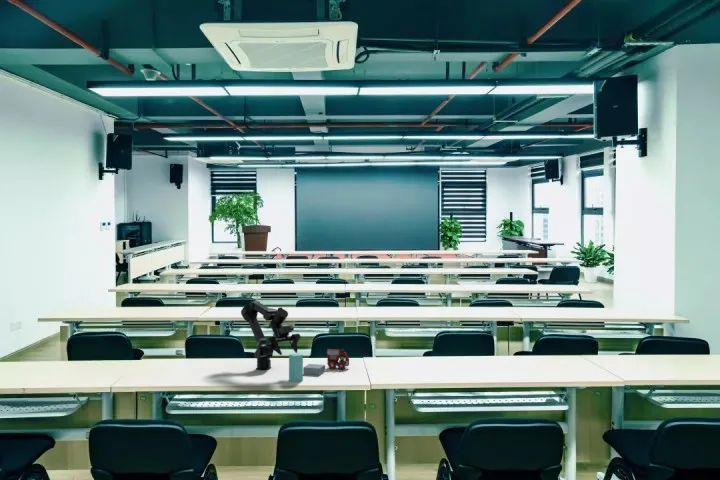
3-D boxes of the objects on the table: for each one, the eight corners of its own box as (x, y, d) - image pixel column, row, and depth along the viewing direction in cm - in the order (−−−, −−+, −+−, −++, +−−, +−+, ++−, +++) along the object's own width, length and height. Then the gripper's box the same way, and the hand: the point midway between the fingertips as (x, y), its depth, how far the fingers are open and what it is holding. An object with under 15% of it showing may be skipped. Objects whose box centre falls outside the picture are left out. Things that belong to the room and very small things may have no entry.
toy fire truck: (348, 370, 339) (348, 350, 339) (325, 369, 341) (325, 350, 340) (349, 367, 346) (350, 348, 346) (327, 366, 347) (327, 347, 347)
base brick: (303, 375, 328) (303, 367, 328) (309, 371, 337) (309, 363, 337) (319, 376, 326) (319, 368, 326) (325, 372, 334) (325, 364, 334)
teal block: (288, 380, 315) (289, 354, 315) (297, 378, 318) (297, 353, 318) (294, 382, 311) (294, 356, 311) (302, 380, 314) (302, 354, 314)
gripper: (267, 321, 318) (279, 346, 309) (298, 318, 329) (310, 342, 321) (260, 334, 324) (271, 359, 316) (291, 331, 336) (302, 354, 327)
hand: (289, 353), depth 320 cm, fingers open, 9 cm apart
